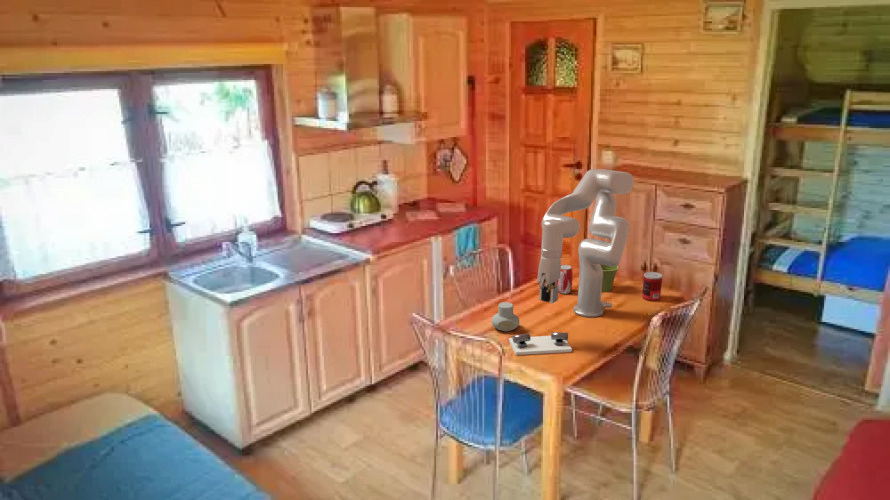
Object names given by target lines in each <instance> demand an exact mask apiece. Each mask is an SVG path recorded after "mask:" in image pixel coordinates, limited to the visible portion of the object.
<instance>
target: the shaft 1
mask: <svg viewBox="0 0 890 500" xmlns="http://www.w3.org/2000/svg"><path fill="white" fill-rule="evenodd" d="M531 337H532V336H531V335H530V333H528V332H527V333H523V334H522V333H521V334H517V335H516V334H514V335H512V338H513V342H514V343H516V344H517V345H518V346H519V347H520V348H525V347H527V343H526V341H530V340H531Z"/></svg>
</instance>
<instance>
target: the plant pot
mask: <svg viewBox="0 0 890 500" xmlns="http://www.w3.org/2000/svg"><path fill="white" fill-rule="evenodd" d="M600 265H601V264H600ZM601 267H602V270H603V280H602V292H606V293H607V292H611V291H612V289H613V286H614V282H615V278H616V275H617V271H618V270H619V268H620V267H619V264H618V265H617V266H615V267H610V266H605V265H601Z"/></svg>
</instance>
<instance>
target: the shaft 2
mask: <svg viewBox="0 0 890 500" xmlns="http://www.w3.org/2000/svg"><path fill="white" fill-rule="evenodd" d="M550 336H551V340H556V346H563V340H566V341H568V340H569V333H568V332H559V331H558V332H557V331H555V332H554V331H552V332H550Z"/></svg>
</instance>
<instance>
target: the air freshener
mask: <svg viewBox="0 0 890 500" xmlns="http://www.w3.org/2000/svg"><path fill="white" fill-rule="evenodd" d="M497 308H498V310H497V311H498V312H497V313H496V314H494V315H493V316H492V318H491V324H492V326H493V327H494V328H495V329H497V330H499V331H502V332H509V331H512V330H515V329H517V327H519V325H520V318H519V317H518V315H516V314H515V313H514V304H513V303H511V302H507V301H505V302H504V301H503V302H500V303H499V304H498V307H497Z"/></svg>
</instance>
